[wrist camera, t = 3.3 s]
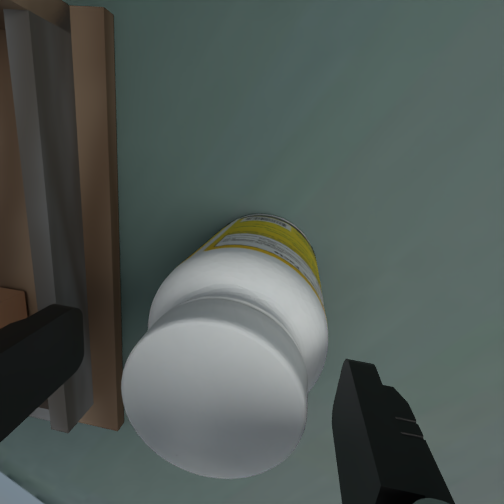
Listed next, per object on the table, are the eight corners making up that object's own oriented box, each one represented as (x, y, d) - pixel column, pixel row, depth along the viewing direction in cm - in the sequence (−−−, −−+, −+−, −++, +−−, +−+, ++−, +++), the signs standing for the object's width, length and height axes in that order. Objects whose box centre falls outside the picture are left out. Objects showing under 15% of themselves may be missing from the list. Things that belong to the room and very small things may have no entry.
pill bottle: (239, 326, 19) (164, 521, 9) (193, 238, 18) (43, 341, 8) (334, 291, 18) (381, 480, 7) (290, 192, 16) (268, 244, 6)
